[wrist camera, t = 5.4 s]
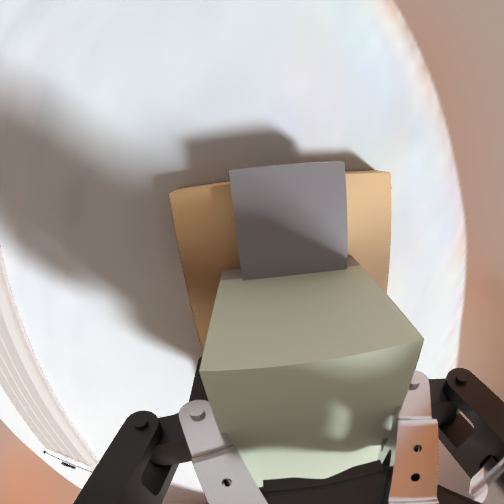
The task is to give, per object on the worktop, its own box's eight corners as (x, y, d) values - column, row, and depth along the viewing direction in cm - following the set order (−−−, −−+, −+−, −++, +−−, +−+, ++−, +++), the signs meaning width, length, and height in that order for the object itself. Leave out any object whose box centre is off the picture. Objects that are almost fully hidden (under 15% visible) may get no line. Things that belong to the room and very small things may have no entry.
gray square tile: (231, 169, 10) (228, 170, 9) (334, 160, 10) (344, 161, 9) (243, 268, 12) (242, 280, 10) (338, 258, 11) (347, 268, 10)
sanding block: (222, 270, 12) (199, 371, 6) (352, 256, 11) (424, 339, 6) (245, 399, 14) (243, 492, 9) (342, 387, 14) (369, 474, 8)
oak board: (178, 188, 12) (168, 192, 11) (375, 170, 12) (390, 172, 10) (239, 450, 18) (238, 464, 17) (349, 436, 18) (353, 450, 17)
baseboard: (10, 184, 12) (-48, 198, 12) (-20, 192, 9) (-70, 206, 9) (113, 463, 22) (49, 440, 22) (107, 481, 19) (41, 455, 19)
